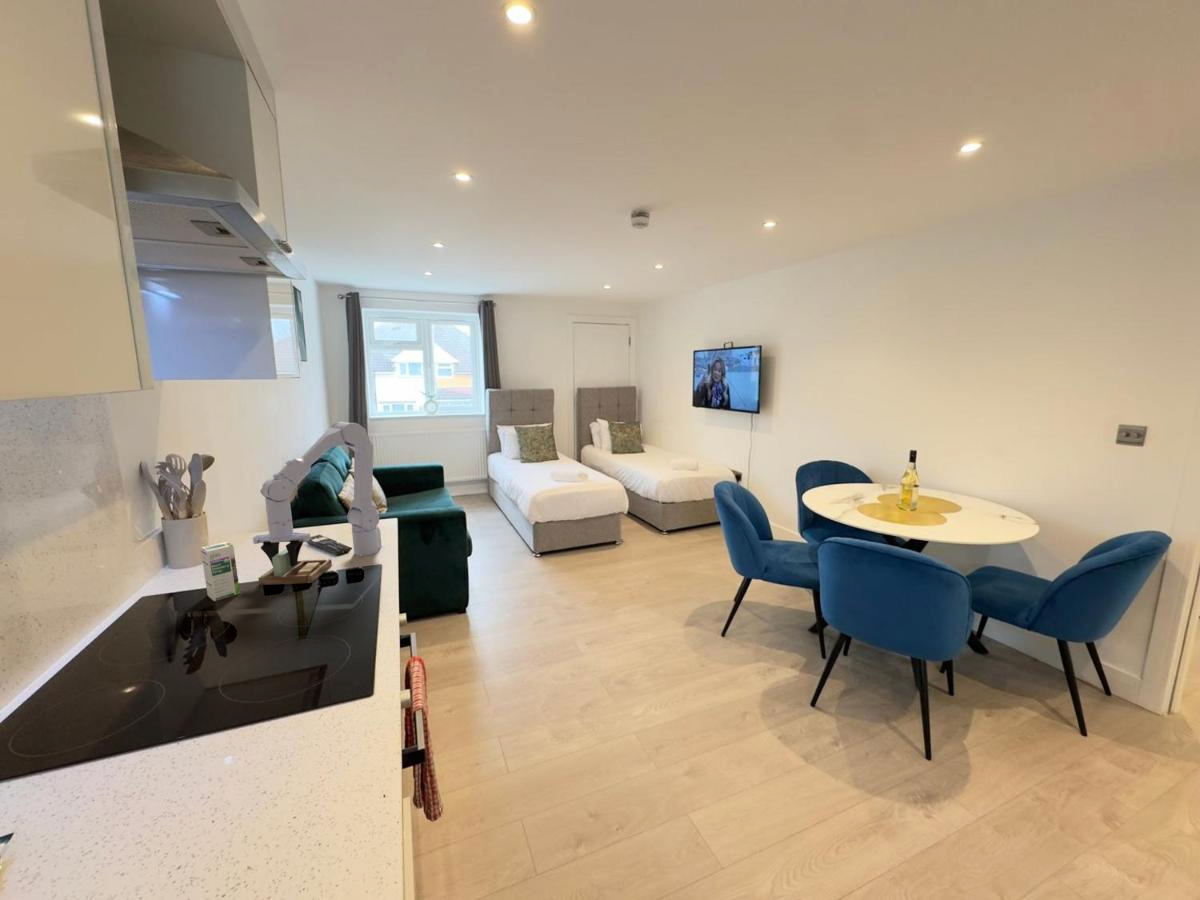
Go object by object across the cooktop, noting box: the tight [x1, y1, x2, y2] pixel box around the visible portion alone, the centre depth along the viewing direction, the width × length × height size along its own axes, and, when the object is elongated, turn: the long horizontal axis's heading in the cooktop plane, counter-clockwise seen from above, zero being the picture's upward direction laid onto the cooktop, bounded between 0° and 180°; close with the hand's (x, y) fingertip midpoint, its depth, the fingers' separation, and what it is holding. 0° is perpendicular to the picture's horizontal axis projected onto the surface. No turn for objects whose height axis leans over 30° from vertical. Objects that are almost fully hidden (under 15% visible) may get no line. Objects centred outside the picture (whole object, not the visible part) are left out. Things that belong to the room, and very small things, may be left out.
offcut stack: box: [298, 562, 321, 579], centre depth 138 cm, size 7×4×2 cm, turn 5°
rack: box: [258, 558, 333, 586], centre depth 138 cm, size 12×14×3 cm
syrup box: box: [199, 541, 241, 602], centre depth 125 cm, size 6×6×14 cm
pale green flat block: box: [271, 547, 297, 576], centre depth 137 cm, size 8×2×7 cm, turn 6°
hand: (285, 565), depth 137 cm, fingers open, 4 cm apart
